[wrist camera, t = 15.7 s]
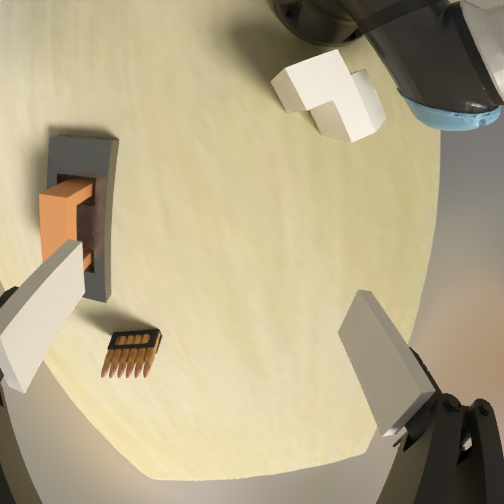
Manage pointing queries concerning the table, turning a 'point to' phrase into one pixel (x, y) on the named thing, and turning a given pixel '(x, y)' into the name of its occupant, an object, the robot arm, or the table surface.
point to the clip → (63, 215)
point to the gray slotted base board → (89, 201)
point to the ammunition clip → (131, 352)
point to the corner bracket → (331, 96)
